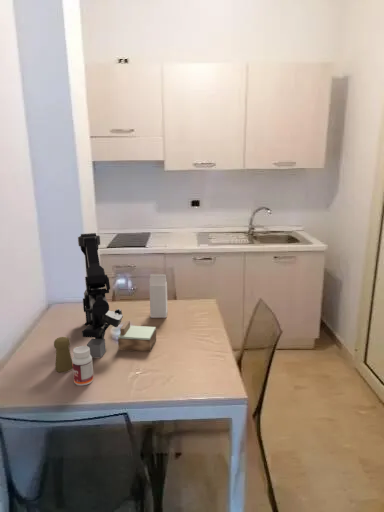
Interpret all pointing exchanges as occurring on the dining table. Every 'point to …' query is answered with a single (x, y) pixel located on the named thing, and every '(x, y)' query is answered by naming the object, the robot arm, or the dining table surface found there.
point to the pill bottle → (82, 365)
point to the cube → (96, 347)
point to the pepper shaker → (63, 355)
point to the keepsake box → (137, 344)
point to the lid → (136, 332)
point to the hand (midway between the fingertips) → (101, 344)
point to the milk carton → (158, 296)
